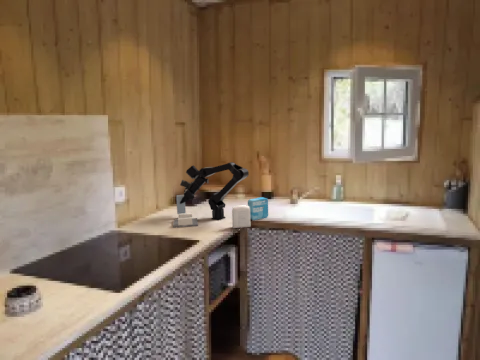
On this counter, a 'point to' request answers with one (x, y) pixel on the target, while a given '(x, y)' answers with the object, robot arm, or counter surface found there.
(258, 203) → the data package
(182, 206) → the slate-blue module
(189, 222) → the board
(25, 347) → the counter surface
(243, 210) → the photo printer
